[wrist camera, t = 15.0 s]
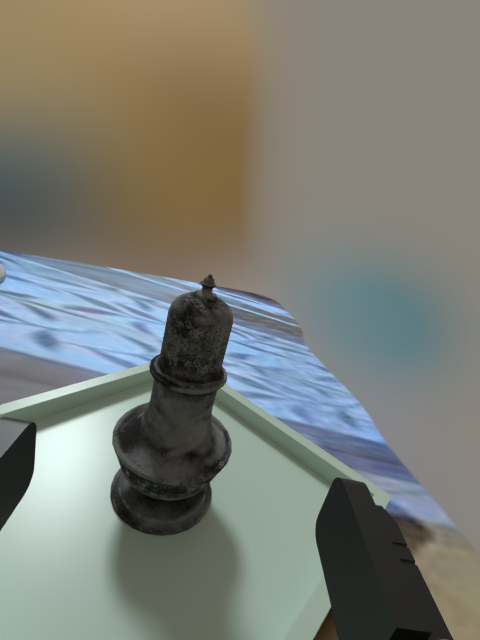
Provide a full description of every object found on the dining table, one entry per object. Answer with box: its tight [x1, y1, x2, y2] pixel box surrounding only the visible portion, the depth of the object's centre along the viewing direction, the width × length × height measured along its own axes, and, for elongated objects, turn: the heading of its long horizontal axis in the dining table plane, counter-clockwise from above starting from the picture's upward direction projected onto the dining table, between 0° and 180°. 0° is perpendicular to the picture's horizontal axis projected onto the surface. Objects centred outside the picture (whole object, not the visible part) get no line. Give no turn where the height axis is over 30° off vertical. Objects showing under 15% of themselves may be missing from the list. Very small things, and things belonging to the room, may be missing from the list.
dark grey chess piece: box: [110, 275, 233, 536], centre depth 17 cm, size 6×6×12 cm
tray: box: [0, 363, 392, 640], centre depth 19 cm, size 19×19×2 cm
